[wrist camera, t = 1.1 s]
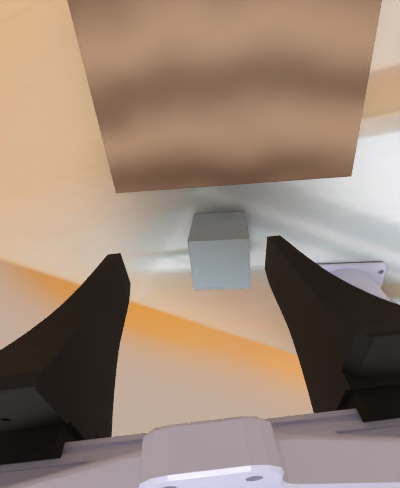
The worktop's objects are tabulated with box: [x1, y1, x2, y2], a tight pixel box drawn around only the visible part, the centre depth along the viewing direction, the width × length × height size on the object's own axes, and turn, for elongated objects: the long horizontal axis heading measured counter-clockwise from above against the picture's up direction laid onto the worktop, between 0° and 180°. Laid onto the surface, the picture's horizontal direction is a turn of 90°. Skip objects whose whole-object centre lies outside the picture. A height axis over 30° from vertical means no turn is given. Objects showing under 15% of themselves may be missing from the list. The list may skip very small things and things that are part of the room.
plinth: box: [68, 0, 382, 193], centre depth 21 cm, size 14×20×2 cm
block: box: [188, 211, 250, 290], centre depth 26 cm, size 5×5×6 cm
